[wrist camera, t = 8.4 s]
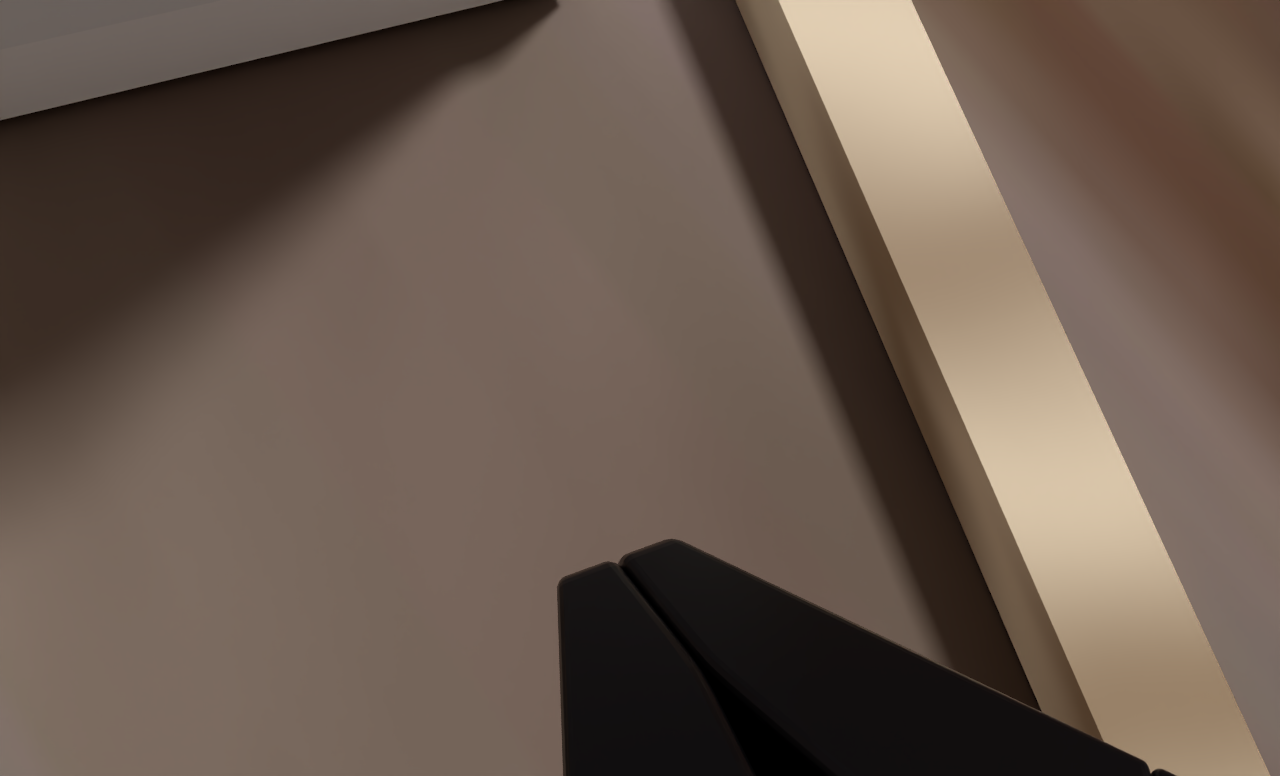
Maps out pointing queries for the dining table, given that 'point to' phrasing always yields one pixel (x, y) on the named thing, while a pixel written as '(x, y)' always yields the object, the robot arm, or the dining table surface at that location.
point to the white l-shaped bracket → (168, 40)
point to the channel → (998, 388)
